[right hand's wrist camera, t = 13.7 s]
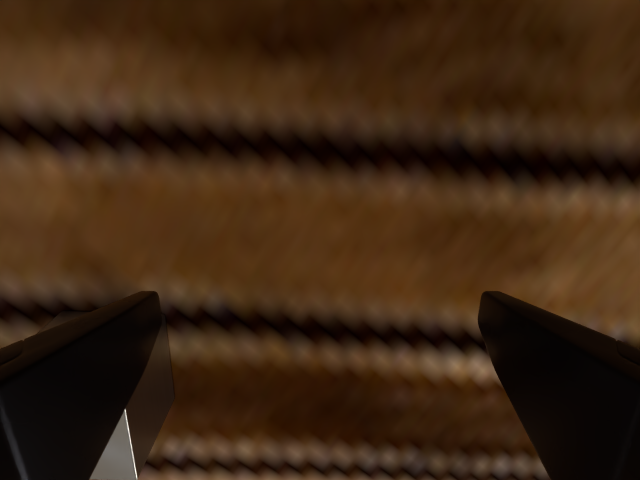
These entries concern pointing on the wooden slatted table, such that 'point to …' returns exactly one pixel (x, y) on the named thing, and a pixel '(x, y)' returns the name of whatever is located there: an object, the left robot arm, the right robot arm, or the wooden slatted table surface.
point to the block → (135, 412)
